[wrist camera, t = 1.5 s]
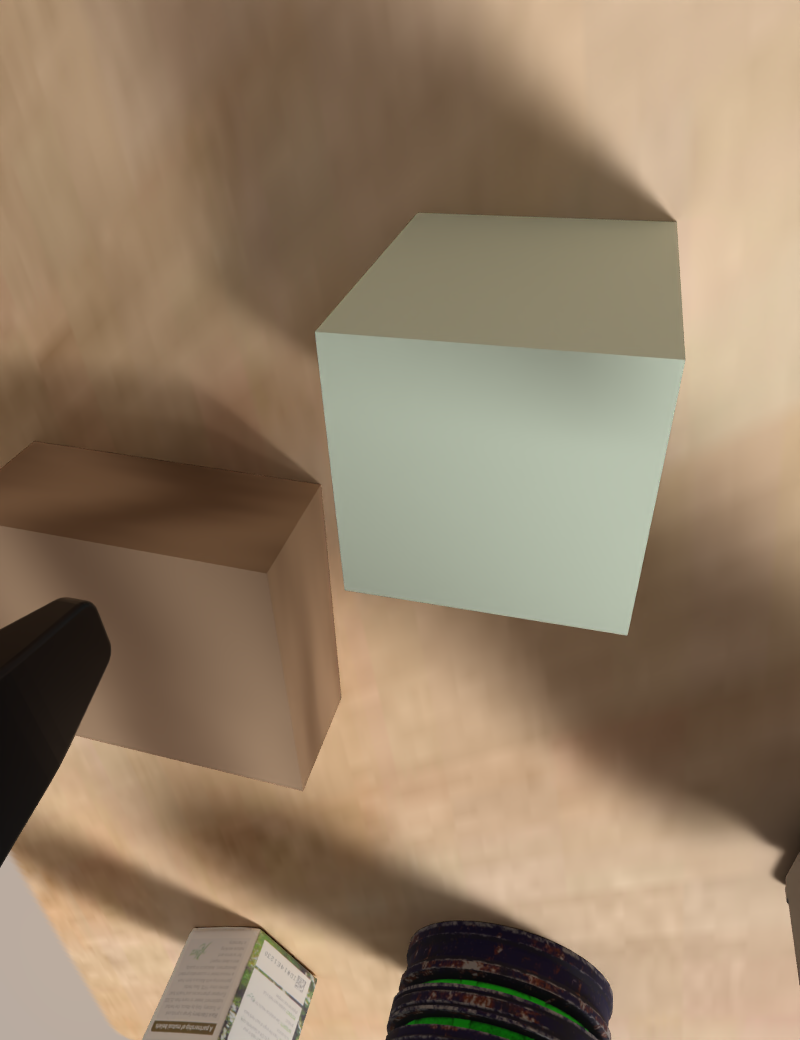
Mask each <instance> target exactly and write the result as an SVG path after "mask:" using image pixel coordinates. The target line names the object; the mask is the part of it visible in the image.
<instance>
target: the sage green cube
mask: <svg viewBox="0 0 800 1040" xmlns="http://www.w3.org/2000/svg"><path fill="white" fill-rule="evenodd" d="M315 338H316V346H317V355H318V364H319V372H320V381H321V390H322V398H323V407H324V415H325V424H326V433H327V441H328V450H329V459H330V467H331V476H332V484H333V493H334V502H335V510H336V519H337V528H338V536H339V545H340V553H341V562H342V571H343V579H344V588H345V590H347V591H353V592H359V593H366V594H372V595H378V596H384V597H391V598H397V599H403V600H409V601H415V602H422V603H428V604H434V605H440V606H447V607H453V608H459V609H465V610H471V611H478V612H484V613H490V614H496V615H503V616H509V617H515V618H521V619H527V620H534V621H540V622H546V623H552V624H559V625H565V626H571V627H577V628H583V629H590V630H596V631H602V632H608V633H615V634H621V635H627V636H628V631H629V626H630V621H631V617H632V612H633V607H634V602H635V597H636V593H637V588H638V583H639V578H640V574H641V569H642V564H643V559H644V555H645V550H646V545H647V540H648V536H649V531H650V526H651V521H652V516H653V512H654V507H655V502H656V497H657V493H658V488H659V483H660V478H661V474H662V469H663V464H664V459H665V455H666V450H667V445H668V440H669V435H670V431H671V426H672V421H673V416H674V412H675V407H676V402H677V397H678V393H679V388H680V383H681V378H682V374H683V369H684V364H685V347H684V331H683V315H682V299H681V282H680V266H679V250H678V234H677V222H667V221H639V220H611V219H582V218H554V217H526V216H497V215H469V214H441V213H417V214H416V215H415V216H414V217H413V219H412V220H411V221H410V222H409V223H408V224H407V225H406V227H405V228H404V229H403V230H402V231H401V232H400V234H399V235H398V236H397V237H396V238H395V239H394V241H393V242H392V243H391V244H390V245H389V246H388V248H387V249H386V250H385V251H384V252H383V253H382V254H381V256H380V257H379V258H378V259H377V260H376V261H375V263H374V264H373V265H372V266H371V267H370V268H369V270H368V271H367V272H366V273H365V274H364V275H363V276H362V278H361V279H360V280H359V281H358V282H357V283H356V285H355V286H354V287H353V288H352V289H351V290H350V292H349V293H348V294H347V295H346V296H345V297H344V298H343V300H342V301H341V302H340V303H339V304H338V305H337V307H336V308H335V309H334V310H333V311H332V312H331V314H330V315H329V316H328V317H327V318H326V319H325V321H324V322H323V323H322V324H321V325H320V326H319V327H318V329H317V330H316V331H315Z"/></svg>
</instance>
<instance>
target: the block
mask: <svg viewBox="0 0 800 1040" xmlns="http://www.w3.org/2000/svg"><path fill="white" fill-rule="evenodd" d="M62 597H70V598H76V599H81V600H87V601H90V602H92V603H93V604H94V605H95V606H96V608H97V610H98V612H99V615H100V617H101V620H102V622H103V625H104V627H105V630H106V632H107V635H108V637H109V640H110V642H111V649H112V650H111V657H110V661H109V663H108V666H107V668H106V670H105V672H104V674H103V677H102V679H101V681H100V683H99V685H98V687H97V689H96V691H95V694H94V696H93V698H92V700H91V702H90V704H89V706H88V709H87V711H86V713H85V715H84V717H83V719H82V721H81V724H80V726H79V728H78V730H77V732H76V734H75V735H76V736H80V737H84V738H88V739H92V740H96V741H100V742H105V743H109V744H113V745H117V746H121V747H125V748H129V749H133V750H137V751H141V752H145V753H150V754H154V755H158V756H162V757H166V758H170V759H174V760H178V761H182V762H186V763H190V764H194V765H199V766H203V767H207V768H211V769H215V770H219V771H223V772H227V773H231V774H235V775H239V776H244V777H248V778H252V779H256V780H260V781H264V782H268V783H272V784H276V785H280V786H284V787H289V788H293V789H297V790H301V791H303V790H304V787H305V785H306V783H307V780H308V778H309V775H310V773H311V770H312V768H313V766H314V763H315V761H316V758H317V756H318V753H319V751H320V749H321V746H322V744H323V741H324V739H325V736H326V734H327V732H328V729H329V727H330V724H331V722H332V719H333V717H334V715H335V712H336V710H337V707H338V705H339V702H340V700H341V689H340V678H339V668H338V657H337V647H336V636H335V626H334V615H333V605H332V595H331V584H330V574H329V563H328V553H327V542H326V532H325V521H324V511H323V500H322V490H321V484H314V483H308V482H301V481H295V480H288V479H281V478H275V477H268V476H261V475H255V474H248V473H241V472H235V471H228V470H222V469H215V468H208V467H202V466H195V465H188V464H182V463H175V462H169V461H162V460H155V459H149V458H142V457H135V456H129V455H122V454H115V453H109V452H102V451H96V450H89V449H82V448H76V447H69V446H62V445H56V444H49V443H42V442H36V441H34V442H33V443H32V444H30V445H29V446H28V447H27V448H26V449H24V450H23V451H22V452H21V453H19V454H18V455H17V456H16V457H15V458H13V459H12V460H11V461H10V462H8V463H7V464H6V465H5V466H4V467H2V468H1V469H0V629H1V628H3V627H5V626H7V625H9V624H11V623H13V622H15V621H16V620H18V619H20V618H22V617H24V616H26V615H28V614H30V613H31V612H33V611H35V610H37V609H39V608H41V607H43V606H45V605H46V604H48V603H50V602H52V601H54V600H56V599H58V598H62Z"/></svg>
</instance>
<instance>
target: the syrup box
mask: <svg viewBox="0 0 800 1040" xmlns="http://www.w3.org/2000/svg"><path fill="white" fill-rule="evenodd" d="M316 982H317V979H316V978H315V977H314V976H313V975H312V974H311V973H310V972H309V971H307V970H306V969H305V968H304V967H303V966H302V965H301V964H299V963H298V962H297V961H296V960H295V959H294V958H293V957H292V956H291V955H289V954H288V953H287V952H286V951H285V950H284V949H283V948H281V947H280V946H279V945H278V944H277V943H276V942H275V941H273V940H272V939H271V938H270V937H269V936H268V935H267V934H265V933H264V932H263V931H262V930H261V929H257V928H247V927H212V928H193V930H192V931H191V933H190V934H189V936H188V939H187V941H186V943H185V945H184V948H183V950H182V952H181V954H180V957H179V959H178V961H177V963H176V966H175V968H174V971H173V973H172V975H171V977H170V979H169V982H168V984H167V986H166V989H165V991H164V993H163V995H162V997H161V999H160V1002H159V1004H158V1006H157V1008H156V1010H155V1012H154V1015H153V1017H152V1019H151V1021H150V1023H149V1026H148V1028H147V1030H146V1032H145V1034H144V1036H143V1039H142V1040H298V1039H299V1036H300V1033H301V1030H302V1026H303V1023H304V1020H305V1016H306V1014H307V1011H308V1008H309V1005H310V1001H311V999H312V995H313V992H314V989H315V985H316Z"/></svg>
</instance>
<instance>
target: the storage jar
mask: <svg viewBox="0 0 800 1040" xmlns="http://www.w3.org/2000/svg"><path fill="white" fill-rule="evenodd" d="M407 963H408V967H407V970H406V971H405V973H404V974H403V975H402V978H401V982H400V986H399V992H398V993H397V995H396V996H395V997H394V1000H393V1004H392V1008H391V1012H390V1016H389V1021H388V1024H387V1032H388V1035H387V1036H386V1040H611V1033H610V1030H609V1028H608V1021H609V1020H610V1018H611V1015H612V1010H613V993H612V990H611V987H610V985H609V983H608V982H607V980H606V979H605V977H604V976H603V975H602V974H601V973H600V972H599V971H598V970H597V969H596V968H595V967H594V966H593V965H591V964H590V963H589V962H587V961H586V960H585V959H583V958H582V957H580V956H579V955H577V954H575V953H574V952H572V951H570V950H568V949H566V948H564V947H562V946H560V945H558V944H556V943H554V942H552V941H550V940H547V939H545V938H542V937H540V936H537V935H534V934H531V933H528V932H525V931H522V930H518V929H514V928H510V927H506V926H502V925H496V924H491V923H484V922H474V921H449V922H441V923H436V924H432V925H429V926H426V927H424V928H422V929H420V930H419V931H418V932H416V933H415V934H414V936H413V937H412V938H411V942H410V945H409V949H408V953H407Z"/></svg>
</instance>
